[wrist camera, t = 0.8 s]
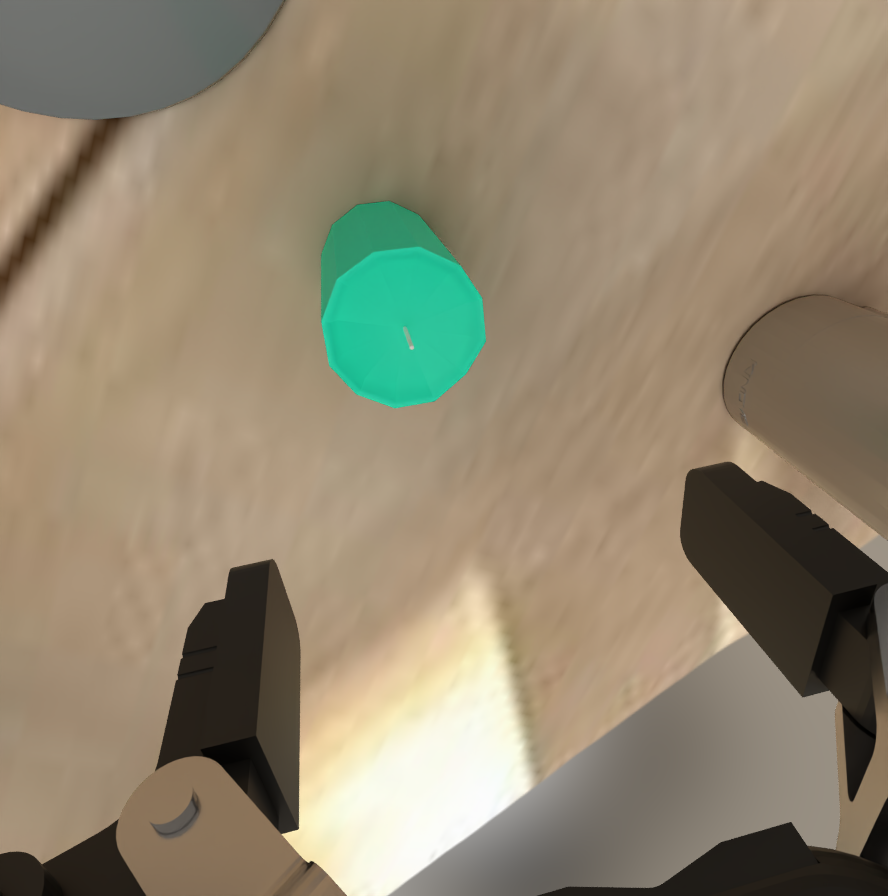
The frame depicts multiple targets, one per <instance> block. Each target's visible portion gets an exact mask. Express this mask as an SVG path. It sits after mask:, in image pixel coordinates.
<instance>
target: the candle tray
mask: <svg viewBox="0 0 888 896" xmlns="http://www.w3.org/2000/svg"><path fill="white" fill-rule="evenodd" d="M284 1H285V0H0V104H1V105H5V106H8V107H11V108H14V109H18V110H21V111H25V112H30V113H36V114H41V115H47V116H53V117H58V118H73V119H94V120H97V119H108V118H118V117H129V116H138V115H142V114H146V113H150V112H154V111H158V110H162V109H166V108H169V107H171V106H173V105H176V104H178V103H181V102H183V101H185V100H188V99H190V98H192V97H195V96H196V95H198V94H200V93H201V92H203V91H204V90H206V89H208V88H209V87H211V86H212V85H214V84H215V83H217V82H219V81H220V80H222V79H223V78H224V77H225V76H226V75H227V74H228V73H230V72H231V71H232V70H233V69H234V68H235V67H236V66H237V65H239V64H240V63H241V62H242V61H243V60H244V59H245V58H246V57H247V56H248V54H249V53H250V52H251V51H252V50H253V48H254V47H255V46H256V45H257V44H258V42H259V41H260V40H261V39H262V38H263V36H264V35H265V34H266V32H267V31H268V29H269V27H270V26H271V24H272V22H273V21H274V19H275V17H276V16H277V14H278V12H279V11H280V9H281V8H282V6H283V4H284Z"/></svg>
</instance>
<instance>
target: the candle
mask: <svg viewBox="0 0 888 896" xmlns="http://www.w3.org/2000/svg"><path fill="white" fill-rule="evenodd" d="M321 323H322V328H323V334H324V339H325V345H326V350H327V356H328V361H329V366H330V367H331V368H332V369H333V370H334V371H335V372H336V373H337V374H338V375H339V377H340V378H341V379H342V380H343V381H344V382H345V383H346V384H347V385H348V386H349V387H350V388H351V389H352V390H353V391H354V392H355V393H356V394H357V395H359V396H362V397H365V398H368V399H370V400H373V401H376V402H379V403H382V404H384V405H387V406H390V407H393V408H400V407H405V406H411V405H417V404H422V403H428V402H434V401H436V400H437V399H438V398H439V397H440V396H441V395H443V394H444V393H445V392H446V391H447V390H448V389H449V388H451V387H452V386H453V385H454V384H455V383H456V382H458V381H459V380H460V379H461V378H462V377H463V376H464V375H466V373H467V372H468V370H469V368H470V367H471V365H472V363H473V362H474V360H475V359H476V357H477V355H478V354H479V352H480V350H481V349H482V347H483V345H484V344H485V342H486V336H485V324H484V312H483V301H482V297H481V296H480V294H479V293H478V291H477V290H476V288H475V287H474V285H473V284H472V282H471V281H470V279H469V278H468V276H467V275H466V273H465V272H464V270H463V269H462V267H461V266H460V264H459V263H458V262H457V261H456V259H455V258H454V257H453V256H452V255H451V253H450V252H449V251H448V250H447V249H446V247H445V246H444V245H443V244H442V242H441V241H440V240H439V239H438V238H437V236H436V235H435V234H434V233H433V232H432V230H431V229H430V228H429V227H428V225H427V224H426V223H425V222H424V221H423V219H422V218H421V217H420V216H419V215H418V214H416V213H414V212H412V211H410V210H408V209H405V208H403V207H401V206H399V205H397V204H395V203H393V202H391V201H385V202H376V203H368V204H359V205H356V206H355V207H354V208H353V209H351V210H350V211H349V212H348V213H346V214H345V215H344V216H343V217H341V218H340V219H339V220H338V221H336V222H335V223H334V224H333V225H332V227H331V229H330V232H329V235H328V238H327V240H326V243H325V246H324V249H323V251H322V254H321Z"/></svg>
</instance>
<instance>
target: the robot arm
mask: <svg viewBox="0 0 888 896" xmlns="http://www.w3.org/2000/svg"><path fill="white" fill-rule="evenodd" d="M724 399H725V403H726V407H727V409H728V411H729V413H730V414H731V416H732V418H733V419H734V420H735V421H736V422H738V423H739V424H740V425H741V426H742V427H743V428H745V429H746V430H747V431H749V432H750V433H751V434H752V435H754V436H755V437H756V438H758V439H759V440H760V441H761V442H763V443H764V444H765V445H766V446H768V447H769V448H770V449H772V450H773V451H774V452H775V453H776V454H778V455H779V456H780V457H781V458H783V459H784V460H785V461H786V462H788V463H789V464H790V465H792V466H793V467H794V468H795V469H797V470H798V471H799V472H800V473H802V474H803V475H804V476H806V477H807V478H808V479H809V480H811V481H812V482H813V483H815V484H816V485H817V486H818V487H820V488H821V489H822V490H823V491H825V492H826V493H827V494H829V495H830V496H831V497H832V498H834V499H835V500H836V501H837V502H839V503H840V504H841V505H843V506H844V507H845V508H846V509H848V510H849V511H850V512H852V513H853V514H854V515H855V516H857V517H858V518H859V519H860V520H862V521H863V522H864V523H866V524H867V525H868V526H869V527H871V528H872V529H873V530H875V531H876V532H877V533H878V534H880V535H881V536H882V537H883V538H885V539H886V540H887V541H888V314H886V313H883V312H881V311H878V310H875V309H873V308H870V307H864V308H860V307H858V306H855V305H853V304H850V303H848V302H845V301H843V300H840V299H837V298H833V297H830V296H822V295H812V296H807V297H802V298H797V299H795V300H792V301H790V302H787V303H785V304H782V305H781V306H779V307H778V308H776V309H774V310H773V311H771V312H769V313H768V314H767V315H765V316H764V317H763V318H762V319H761V320H760V321H758V322H757V323H756V324H755V325H754V326H753V327H752V328H751V329H750V330H749V331H748V333H747V334H746V335H745V336H744V337H743V338H742V340H741V341H740V343H739V345H738V346H737V348H736V349H735V351H734V353H733V355H732V357H731V359H730V362H729V364H728V367H727V370H726V374H725V379H724ZM680 538H681V543H682V547H683V550H684V552H685V555H686V557H687V558H688V560H689V561H690V563H691V564H692V565H693V567H694V568H695V569H696V570H697V571H698V573H699V574H700V575H701V576H702V577H703V579H704V580H705V581H706V582H707V583H708V585H709V586H710V587H711V588H712V589H713V591H714V592H715V593H716V594H717V595H718V597H719V598H720V599H721V600H722V601H723V603H724V604H725V605H726V606H727V607H728V609H729V610H730V611H731V612H732V613H733V615H734V616H735V617H736V618H737V619H738V621H739V622H740V623H741V624H742V625H743V627H744V628H745V629H746V630H747V631H748V633H749V634H750V635H751V636H752V637H753V638H754V640H755V641H756V642H757V643H758V644H759V646H760V647H761V648H762V649H763V651H765V653H766V654H767V655H768V657H769V658H770V659H771V660H772V661H773V662H774V664H775V665H776V666H777V667H778V669H779V670H780V671H781V672H782V673H783V674H784V676H785V677H786V678H787V679H788V681H789V682H790V683H791V684H792V685H793V686H794V688H795V689H796V690H797V691H798V693H799V694H800V695H801V696H802V697H806V696H810V695H814V694H817V693H821V692H825V691H829V690H830V692H831V693H832V694H833V695H834V696H835V697H836V698H837V699H838V703H837V706H836V709H835V727H836V745H837V764H838V780H839V781H838V782H839V801H840V824H839V833H838V838H837V844H836V850H833V849H827V848H821V847H814V846H807V845H806V843H805V842H804V841H803V839H802V838H801V836H800V834H799V833H798V832H797V830H796V829H795V827H794V826H793V824H792V823H791V822H789V823H786V824H782V825H779V826H776V827H772V828H769V829H765V830H762V831H758V832H755V833H751V834H748V835H745V836H741V837H738V838H734V839H731V840H728V841H724V842H721V843H719V844H718V845H716V846H715V847H714V848H712V849H711V850H709V851H708V852H707V853H705V854H704V855H702V856H701V857H700V858H698V859H697V860H695V861H694V862H693V863H691V864H690V865H688V866H687V867H686V868H684V869H683V870H681V871H680V872H679V873H677V874H676V875H674V876H673V877H672V878H670V879H669V880H668V881H666V882H665V883H663V884H661V885H660V886H657V887H654V888H613V887H611V888H610V887H566V888H562V889H559V890H556V891H552V892H549V893H545V894H542V895H538V896H888V572H887V571H885V570H884V569H883V568H882V567H881V566H879V565H878V564H877V563H876V562H874V561H873V560H872V559H871V558H869V557H868V556H867V555H866V554H865V553H863V552H862V551H861V550H860V549H858V548H857V547H856V546H855V545H853V544H852V543H851V542H850V541H848V540H847V539H846V538H845V537H844V536H842V535H841V534H840V533H839V532H837V531H836V530H835V529H834V528H832V529H830V528H829V524H827V523H826V522H825V521H824V520H823V519H821V518H820V517H819V516H818V515H816V514H812V512H811V510H810V509H809V508H808V507H806V506H805V505H804V504H803V503H802V502H800V501H799V500H798V499H797V498H795V497H794V496H793V495H792V494H790V493H788V492H786V491H784V490H782V489H779V488H777V487H775V486H773V485H770V484H768V483H766V482H764V481H759V482H756V481H755V480H754V479H752V478H751V477H750V476H749V475H748V474H746V473H745V472H744V471H743V470H742V469H741V468H739V467H738V466H737V465H736V464H734V463H732V462H724V463H719V464H714V465H710V466H705V467H701V468H696V469H692V470H690V471H689V472H688V474H687V477H686V481H685V491H684V500H683V509H682V518H681V528H680ZM182 655H183V658H182V659H181V661H180V666H179V670H178V680H176V683H175V688H174V692H173V697H172V701H171V706H170V710H169V715H168V719H167V724H166V728H165V733H164V737H163V741H162V746H161V750H160V755H159V759H158V763H157V767H156V770H155V772H154V773H152V774H151V775H150V776H148V777H147V778H146V779H145V780H144V781H143V782H142V783H141V784H140V785H139V786H138V787H137V788H136V790H135V791H134V792H133V793H132V795H131V796H130V798H129V799H128V800H127V802H126V804H125V806H124V808H123V810H122V812H121V815H120V817H119V819H118V820H117V821H115V822H114V823H113V824H111V825H110V826H109V827H107V828H105V829H104V830H102V831H101V832H99V833H97V834H96V835H94V836H92V837H90V838H89V839H87V840H85V841H83V842H81V843H80V844H78V845H76V846H74V847H73V848H71V849H69V850H67V851H65V852H64V853H62V854H60V855H58V856H56V857H55V858H53V859H51V860H49V861H48V862H46V863H44V864H41V863H40V862H39V861H38V860H37V859H36V858H35V857H34V856H32V855H30V854H28V853H24V852H8V853H3V854H0V896H347V895H346V894H345V893H344V892H343V891H342V890H341V889H340V887H339V886H338V885H337V884H336V883H335V882H334V881H333V880H332V879H331V877H330V876H329V875H328V874H327V873H326V872H325V871H324V870H323V869H322V868H321V867H319V866H318V865H317V864H316V863H314V862H312V861H310V863H308V862H306V861H305V860H304V859H303V858H302V857H301V856H300V855H299V854H298V853H297V852H296V851H295V849H294V848H293V847H292V846H291V845H290V844H289V843H288V841H287V840H286V839H285V838H284V837H283V836H282V835H281V834H283V833H287V832H291V831H295V830H298V829H299V749H300V640H299V633H298V628H297V623H296V620H295V616H294V614H293V611H292V608H291V605H290V602H289V599H288V596H287V593H286V590H285V587H284V584H283V581H282V578H281V576H280V573H279V570H278V567H277V565H276V563H275V561H274V560H273V559H271V560H266V561H262V562H257V563H252V564H248V565H243V566H239V567H234V568H231V569H230V572H229V576H228V582H227V588H226V594H225V599H222V600H218V601H213V602H209V603H205V604H204V605H203V607H202V608H201V610H200V611H199V613H198V614H197V616H196V617H195V619H194V620H193V621H192V623H191V624H190V626H189V627H188V630H187V634H186V639H185V643H184V648H183V652H182Z"/></svg>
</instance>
